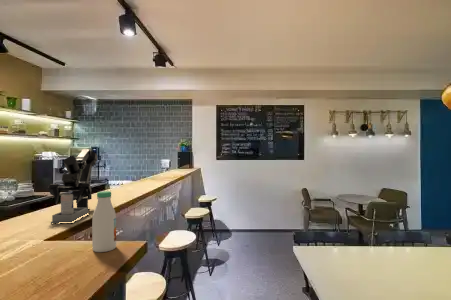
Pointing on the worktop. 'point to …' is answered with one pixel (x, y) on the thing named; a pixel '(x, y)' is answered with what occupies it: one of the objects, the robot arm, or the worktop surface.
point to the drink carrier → (69, 218)
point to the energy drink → (67, 204)
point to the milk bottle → (104, 224)
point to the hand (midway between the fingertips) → (66, 203)
